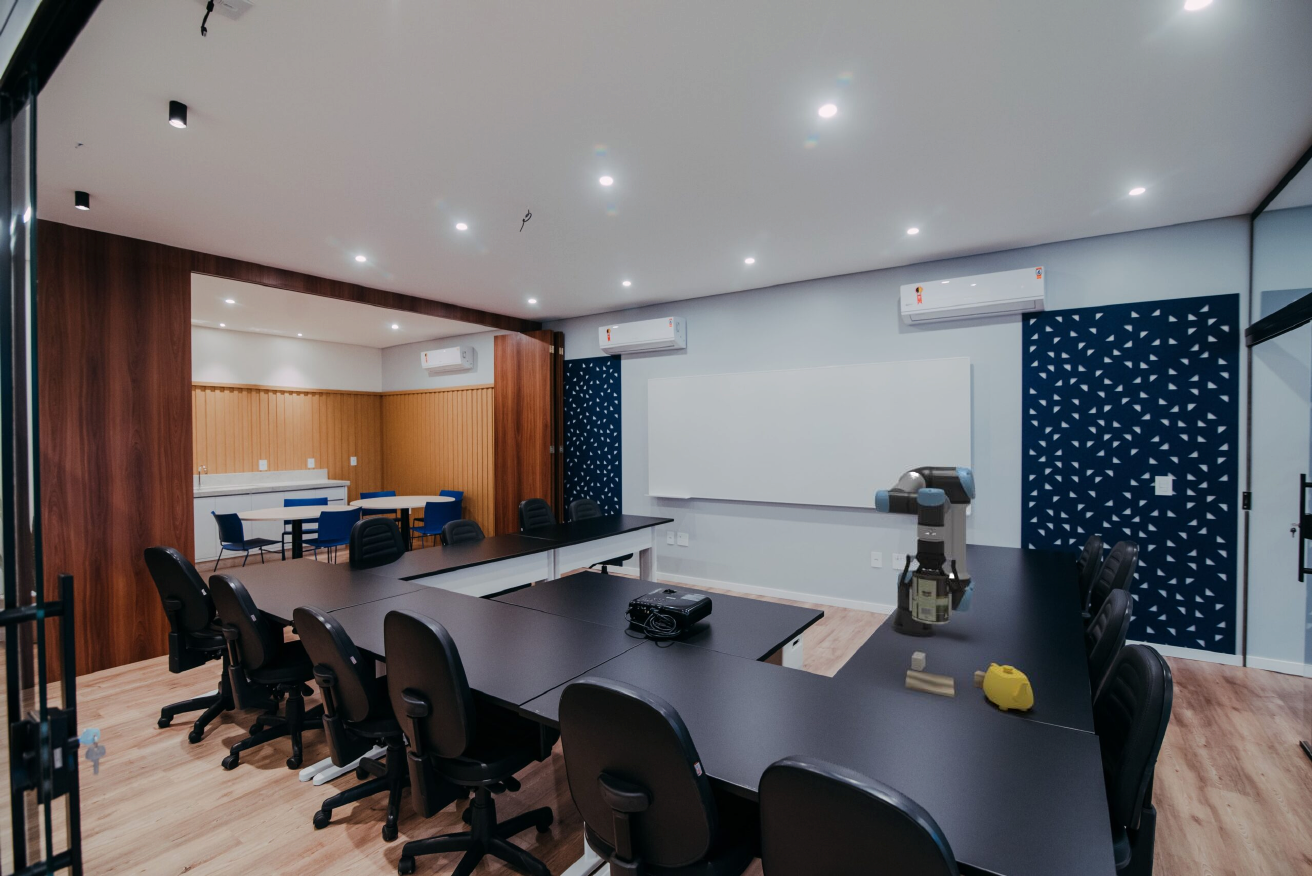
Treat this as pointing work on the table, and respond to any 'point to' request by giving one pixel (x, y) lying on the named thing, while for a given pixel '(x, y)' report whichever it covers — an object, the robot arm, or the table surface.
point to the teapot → (1008, 688)
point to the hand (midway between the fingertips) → (930, 612)
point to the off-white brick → (918, 661)
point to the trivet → (930, 683)
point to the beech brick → (979, 679)
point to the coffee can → (930, 597)
